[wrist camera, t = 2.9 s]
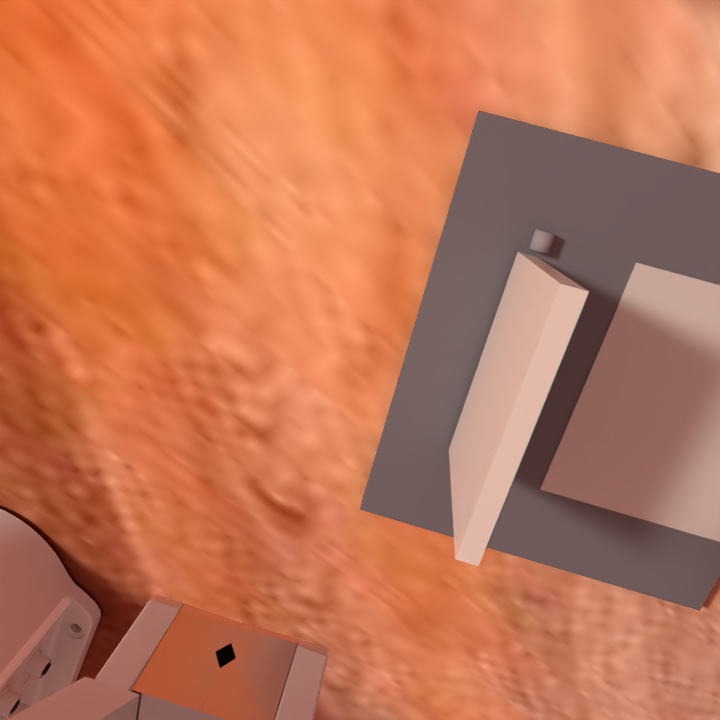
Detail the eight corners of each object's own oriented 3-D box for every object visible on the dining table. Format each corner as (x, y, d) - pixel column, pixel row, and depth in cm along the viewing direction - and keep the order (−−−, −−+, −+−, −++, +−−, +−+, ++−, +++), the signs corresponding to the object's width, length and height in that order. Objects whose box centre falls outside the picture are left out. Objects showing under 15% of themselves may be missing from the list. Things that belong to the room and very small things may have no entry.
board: (693, 601, 34) (706, 621, 33) (361, 502, 35) (358, 517, 34) (912, 226, 26) (943, 228, 25) (478, 112, 27) (480, 108, 26)
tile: (468, 454, 32) (483, 567, 22) (448, 449, 32) (455, 559, 22) (540, 257, 28) (594, 293, 18) (517, 251, 28) (560, 283, 19)
